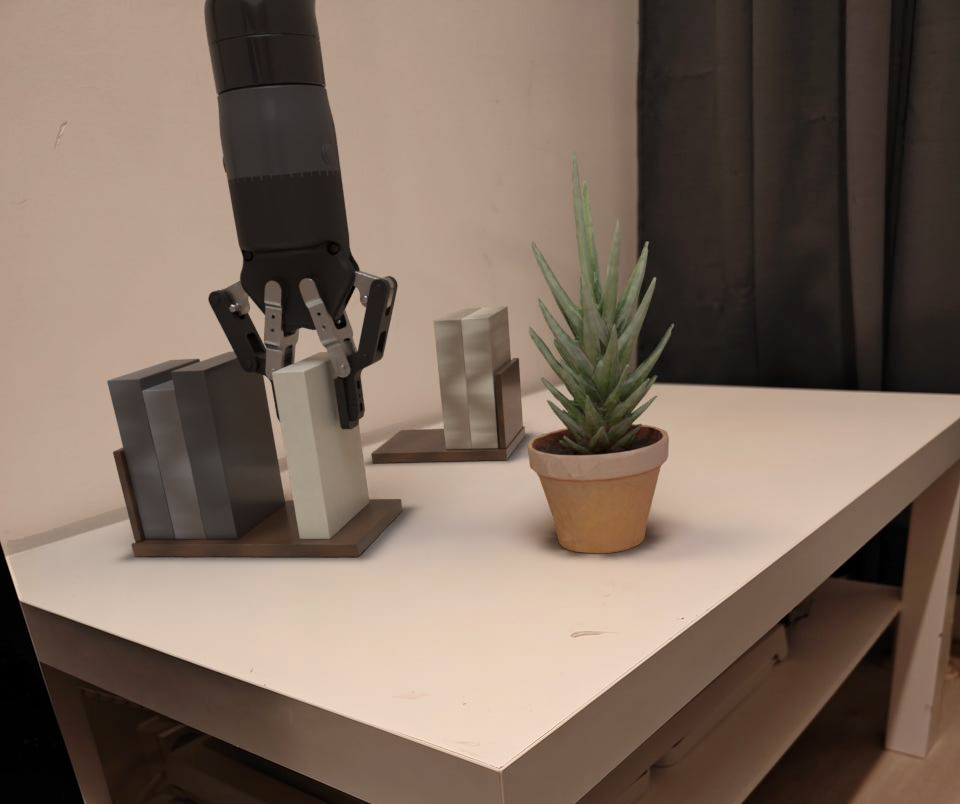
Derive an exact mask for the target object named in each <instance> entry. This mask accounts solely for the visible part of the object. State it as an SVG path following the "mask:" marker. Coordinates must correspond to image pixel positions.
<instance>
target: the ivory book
mask: <svg viewBox="0 0 960 804" xmlns="http://www.w3.org/2000/svg"><path fill="white" fill-rule="evenodd" d="M272 377H273V383H274V389H275V395H276V401H277V407H278V413H279V419H280V422H279V424H280V430H281V435H282V441H283V448H284V453H285V459H286V466H287V471H288V477H289V478H288V479H289V482H290V488H291V496H292V500H293V501H294V507H295V513H296V519H297V525H298V531H299V537H300V539H331V538H332V537H333V536H334V535H335V534H336V533H337V532H338V531H339V530H340V529H341V528H342V527H344V526H345V525H346V524H347V523H348V522H349V521H350V520H351V519H352V518H353V517H354V516H355V515H357V514H358V513H359V512H360V511H361V510H362V509H363V508H364V507H365V506H366V505H367V504H368V503H369V499H370V496H369V488H368V481H367V474H366V466H365V465H366V464H365V458H364V449H363V443H362V435H361V429H360V423H359V424H358V425H357V426H356V427H355V428H353V429H345V430H343V429H342V428H341V426H340V420H339V413H338V406H337V399H336V392H335V385H334V379H335V378H337V377H338V375H337V374H336V373H335V371H334V368H333V366H332V363H331V360H330V357H329V355H328V352H327V351H320V352H316V353H315V354H312V355H311V356H308V357H305V358H303V359H301V360H299V361H295V362H294V364H291V365H289V366H287V367H284V368H282V369H280V370H277V371H275V372H273V373H272Z"/></svg>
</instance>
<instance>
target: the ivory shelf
mask: <svg viewBox="0 0 960 804" xmlns="http://www.w3.org/2000/svg"><path fill="white" fill-rule="evenodd" d="M433 329H434V341H435V348H436V360H437V361H436V362H437V371H438V381H439V393H440V402H441V404H440V405H441V412H442V423H443V428H424V429H423V428H422V429H420V428H419V429H400V430H399V431H398V432H397V433H395V434H394V435H392V437H390V438H389V439H388V440H387V441H385V442H383V443H382V444H381V445H380V446H379V447H377V448H376V449H375V450H374V451H372V452H371V462H372V464H391V463H395V464H396V463H432V462H433V463H436V462H475V461H477V462H481V461H482V462H483V461H507V460H508V459H509V457H510V456H511V455H512V454H513V452H515V449H516V448H517V447H518V445H520V443H521V441H522V440H523V439H524V437H525V436H526V427H525V426H524V421H523V403H522V402H523V401H522V387H521V371H520V358H519V357H513V358H512V354H511V353H512V352H511V340H510V323H509V309H508V306H507V305H504V306H502V305H501V306H500V305H499V306H486V307H484V306H483V307H471V308H457V309H455V310H453V311H451V312H449V313H447V314H444V315H442V316H440V317H438V318H436V319H434V320H433Z"/></svg>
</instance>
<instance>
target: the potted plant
mask: <svg viewBox="0 0 960 804" xmlns="http://www.w3.org/2000/svg"><path fill="white" fill-rule="evenodd" d="M572 153H573V154H572V155H573V157H572V163H571V164H572V166H571V170H572V171H571V172H572V173H571V176H572V177H571V179H572V180H571V181H572V195H573V199H572V203H573V213H574V225H575V231H576V234H575V235H576V245H577V253H578V260H579V270H580V275H579V306H578V305H577V306H576V304H575V303H574V302H573V301H572V299H571V298H570V297H569V295H568V294H567V293H566V291H565V290H564V288H563V287H562V286H561V284H560V282H559V280H558V279H557V277H556V275H555V274H554V272H553V270H552V269H551V266H549V263H548V262H547V261H546V259H545V257H544V255H543V254H542V252H541V251H540V249H539V248H538V246H537V245H536V243H535V242H534V240H531V248H532V252H533V254H534V257H535V260H536V263H537V266H538V267H539V269H540V272H541V273H542V276H543V277H544V279H545V283H546V284H547V285H548V288H549V290H550V292H551V295H552V296H553V299H554V301H555V303H556V305H557V307H558V309H559V312H560V313H561V315H562V316H563V319H564V320H565V322H566V324H567V326H568V328H569V329H570V331H571V333H572V335H573V337H574V339H573V338H572V337H571V336H570V335H569V334H568V333H567V332H566V331H565V330H564V329H563V328H562V326H561V325H560V324H559V323H558V322H557V320H556V318H555V317H554V316H553V315H552V313H551V312H550V311H549V309H548V308H547V306H546V305H545V304H544V302H543V301H542V299H540V298H539V297H537V301H538V307H539V309H540V311H541V314H542V316H543V318H544V321H545V322H546V324H547V326H548V328H549V330H550V332H551V333H552V335H553V337H554V339H553V345H554V347H555V349H556V350H557V352H558V354H559V355H560V357H561V358H560V359H559V361H558V360H557V358H556V357H555V356H554V354H553V353H552V351H551V350H550V348H549V347H548V346H547V344H546V343H545V342H544V340H543V339H542V337H540V336H539V334H538V333H536V331H535V330H534V329H533V328H532V327H531V326H530V325H529V326H528V334H529V336H530V338H531V340H532V341H533V343H534V344H535V346H536V347H537V349H538V351H539V352H540V354H541V355H542V356H543V358H544V359H545V360H546V362H547V364H548V365H549V367H550V368H551V369H552V371H553V372H554V373H555V374H556V376H557V377H558V378H559V379H560V381H561V382H562V383H563V384H564V387H565V388H566V390H567V391H568V393H569V394H570V395H571V397H572V398H573V399H569V398H568V397H567V396H565V394H563V393H562V392H561V391H560V390H559V389H558V388H556V387H555V386H554V385H553V384H551V382H550V381H549V380H547V378H545V377H543V376H542V377H541V378H540V381H541V382H542V383H543V385H544V386H545V388H546V389H547V390H548V391H549V393H551V395H552V397H554V398H555V399H556V400H557V401H558V402H559V403H560V404H561V406H562V407H563V408H564V409H563V408H562V409H561V408H559V406H557V405H556V404H555V403H554V402H553V401H552V400H549V399H547V400H546V402H547V404H548V406H549V408H551V410H552V412H553V413H554V415H556V417H557V418H558V419H559V420H560V421H561V423H562V424H563V425H564V426H565V427H566V428H561V429H557V430H553V431H549V432H546V433H542V434H539V435H537V436H535V437H533V438H532V439H530V440H529V441H528V443H527V453H528V461H529V467H530V469H531V470H532V471H534V472H535V473H536V475H537V477H538V478H539V481H540V484H541V487H542V490H543V493H544V495H545V498H546V502H547V505H548V507H549V510H550V513H551V517H552V520H553V524H554V528H555V532H556V536H557V540H558V542H559V544H560V546H561V547H562V548H563V549H566V550H568V551H573V552H577V553H588V554H589V553H590V554H611V553H617V552H623V551H626V550H630V549H634V548H636V547H637V546H638V545H640V544H641V543H642V542H644V541H645V536H646V530H647V523H648V519H649V515H650V511H651V508H652V503H653V500H654V495H655V491H656V488H657V483H658V478H659V475H660V471H661V468H662V466H663V465H664V464H665V462H666V461H667V460H668V458H669V451H670V447H669V446H670V437H669V434H668V431H667V430H665V429H664V428H660V427H658V426H653V425H648V424H642V423H639V424H638V423H636V424H635V423H634V422H635V421H637V419H639V418H640V417H641V416H642V414H643V413H645V412H646V410H647V409H648V408H649V407H650V406H651V404H653V402H654V401H655V400H656V399H657V398H658V395H654V396H653V397H652V398H650V399H649V400H647V401H646V402H645V403H643V404H642V405H641V406H639V407H638V405H639V403H641V402H642V400H643V399H644V398H645V396H646V395H647V394H648V392H649V391H650V389H651V388H652V386H653V385H654V384H655V382H656V380H657V378H658V375H655V374H654V375H653V376H651V378H648V376H649V374H650V372H651V371H652V369H653V367H654V366H655V364H656V363H657V361H658V360H659V358H660V357H661V354H662V353H663V351H664V348H665V347H666V345H667V343H668V341H669V340H670V337H671V336H672V330H673V329H674V327H675V324H674V323H671V324H670V326H669V327H668V329H667V330H666V332H665V333H664V335H663V336H662V338H661V339H660V342H659V343H657V346H656V347H655V348H654V350H653V351H652V352H651V354H650V355H649V356H648V357H647V358H646V359H645V360H643V361H642V362H641V363H640V364H639V365H638V366H637V367H636V368H634V369H633V370H632V371H631V372H629V368H630V366H629V363H630V360H631V357H632V354H633V351H634V349H635V346H636V344H637V341H638V337H639V335H640V332H641V329H642V327H643V323H644V321H645V318H646V315H647V313H648V309H649V306H650V304H651V300H652V297H653V295H654V291H655V288H656V283H657V277H655V276H654V277H653V278H652V280H651V282H650V284H649V286H648V288H647V289H646V292H645V293H644V295H643V298H642V300H641V302H640V304H639V306H638V308H637V309H636V306H637V302H638V300H639V297H640V296H639V295H640V291H641V289H642V284H643V281H644V278H645V273H646V269H647V268H646V267H647V261H648V254H649V249H648V246H649V244H650V242H649V241H645V243H644V245H643V248H642V251H641V253H640V256H639V258H638V260H637V263H636V265H635V267H634V269H633V271H632V273H631V275H630V276H629V277H630V278H629V279H628V281H627V284H626V285H625V287H624V289H623V291H622V293H621V295H620V297H619V299H618V291H619V290H618V289H619V280H620V263H621V219H620V216H619V217H617V218H616V221H615V222H616V224H615V228H614V231H613V235H612V236H613V237H612V241H611V246H610V252H609V256H608V261H607V266H606V271H605V275H604V282H603V286H602V279H601V271H600V262H599V254H598V250H597V246H596V238H595V237H596V236H595V231H594V229H595V228H594V222H593V215H592V207H591V201H590V195H589V190H588V185H587V181H586V180H584V181H583V183H582V189H581V184H580V175H579V166H578V162H577V154H576V151H573V152H572ZM581 190H582V192H581ZM635 309H636V312H635ZM634 312H635V314H634ZM633 315H634V316H633ZM628 372H629V373H628ZM637 407H638V408H637Z"/></svg>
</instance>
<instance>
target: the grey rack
mask: <svg viewBox="0 0 960 804" xmlns="http://www.w3.org/2000/svg"><path fill="white" fill-rule="evenodd" d="M264 377H265V376H264V375H262V374H259V373H256V372H252V373H248V372H246V371H244V369H243V368H242V366H241V364H240V362H239V360H238V358H237V356H236V354H235V352H234V351H232V350H231V351H227V352H224V353H221V354H219V355H215V356H212V357H209V358H207V359H204V360H201V359H200V358H185V359H184V358H183V359H170V360H167V361H163V362H161V363H158V364H154V365H151V366H148V367H145V368H142V369H138V370H136V371H132V372H130V373H126V374H123V375H121V376H117V377H114V378H111V379H108V380H107V381H106V382H107V383H106V384H107V387H108V391H109V395H110V398H111V404H112V408H113V412H114V415H115V421H116V424H117V428H118V431H119V432H118V433H119V437H120V440H121V441H120V442H121V444H122V445H121V446H122V447H120V448H118V449H116V450H113V451H112V455H113V459H114V463H115V467H116V471H117V474H118V480H119V483H120V488H121V491H122V495H123V499H124V503H125V507H126V511H127V515H128V518H129V519H128V520H129V523H130V527H131V531H132V536H133V540H134V542H133V543H131V548H132V552H133V556H134V557H175V558H176V557H183V558H185V557H186V558H187V557H191V558H193V557H194V558H195V557H197V558H199V557H203V558H204V557H209V558H211V557H214V558H215V557H219V558H220V557H225V558H227V557H228V558H231V557H233V558H234V557H237V558H238V557H239V558H241V557H244V558H245V557H246V558H247V557H249V558H251V557H252V558H253V557H254V558H255V557H256V558H257V557H259V558H261V557H264V558H265V557H266V558H267V557H269V558H274V557H275V558H276V557H278V558H281V557H282V558H283V557H284V558H285V557H286V558H287V557H288V558H290V557H291V558H300V557H301V558H312V557H313V558H330V557H331V558H359V557H360V556H361V555H362V554H363V552H364V551H365V550H367V548H369V546H370V545H371V544H372V543H373V542H374V541H375V540H376V539H377V538H378V537H379V536H380V535H381V534H382V532H384V531H385V530H386V528H387V527H389V525H390V524H391V523H392V522H393V521H394V520H395V519H396V518H397V517H398V516H399V514H400V513H401V512H402V511H403V502H402V498H381V499H380V498H372V499H371V498H369V503H368V504H367V505H366V506H365V507H364V508H363V509H362V510H361V511H360V512H359V513H358V514H357V515H355V516H354V517H353V518H352V519H351V520H350V521H349V522H348V523H347V524H346V525H345V526H344V527H342V528H341V529H340V530H339V531H338V532H337V533H336V534H335V535H334V536H333V537H332V538H331V539H300V537H299V531H298V525H297V519H296V513H295V507H294V501H293V499H292V500H291V499H290V500H289V499H287V500H286V498H285V493H284V488H283V482H282V476H281V470H280V464H279V459H278V453H277V447H276V440H275V436H274V429H273V423H272V419H271V417H272V416H271V412H270V406H269V400H268V394H267V389H266V384H265V383H266V382H265V378H264Z"/></svg>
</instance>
